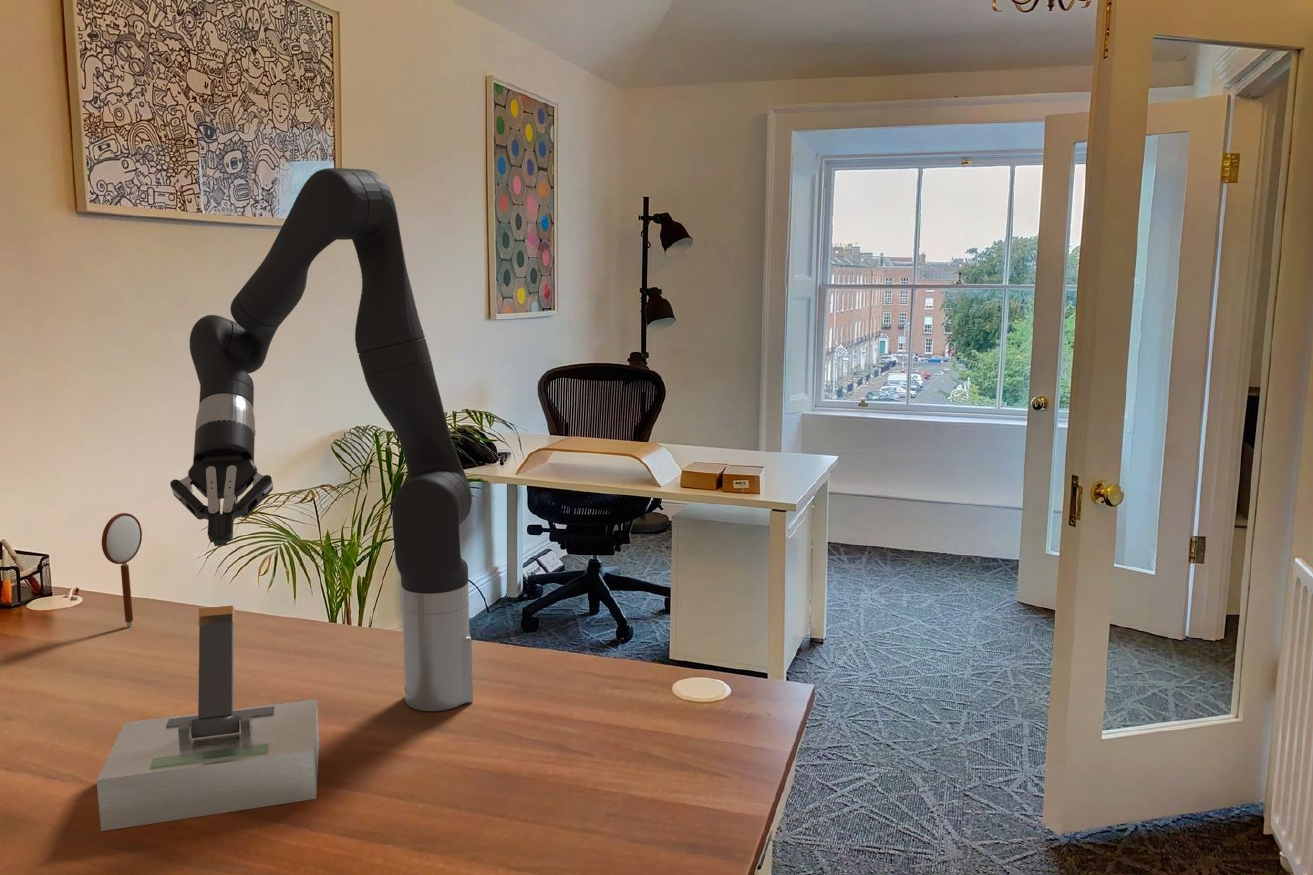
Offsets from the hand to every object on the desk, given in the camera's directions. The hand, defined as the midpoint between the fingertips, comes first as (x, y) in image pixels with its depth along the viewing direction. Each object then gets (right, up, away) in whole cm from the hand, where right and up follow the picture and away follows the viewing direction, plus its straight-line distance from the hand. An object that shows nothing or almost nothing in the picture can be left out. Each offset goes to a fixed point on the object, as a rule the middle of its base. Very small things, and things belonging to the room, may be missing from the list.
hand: (220, 542), depth 120 cm
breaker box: (+4, -28, -9) cm, 29 cm away
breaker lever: (+4, -22, -10) cm, 24 cm away
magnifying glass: (-35, -19, +41) cm, 57 cm away
